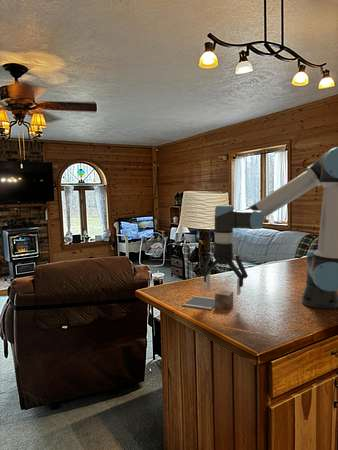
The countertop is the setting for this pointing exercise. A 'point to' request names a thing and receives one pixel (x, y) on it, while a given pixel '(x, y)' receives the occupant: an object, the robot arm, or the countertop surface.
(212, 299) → the tray
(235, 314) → the countertop surface
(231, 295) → the walnut block
